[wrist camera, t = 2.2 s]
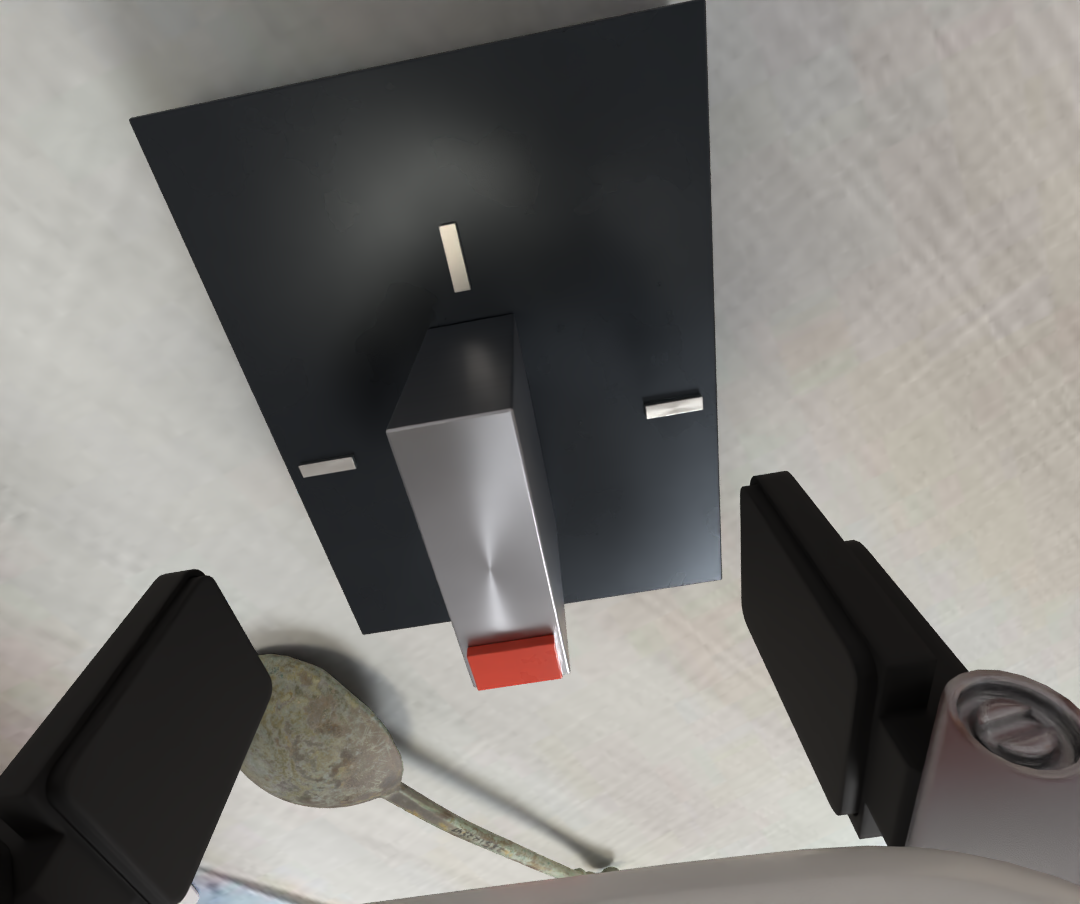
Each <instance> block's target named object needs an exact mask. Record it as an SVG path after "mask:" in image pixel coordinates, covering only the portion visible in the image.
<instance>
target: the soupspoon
mask: <svg viewBox="0 0 1080 904" xmlns="http://www.w3.org/2000/svg"><path fill="white" fill-rule="evenodd" d="M258 656H259V658H260V659H261V661H262V663H263V665H264V666H265V668H266V670H267V672H268V673H269V675H270V677H271V680H272V695H271V698H270V701H269V703H268V706H267V708H266V710H265V713H264V715H263V717H262V720H261V722H260V724H259V727H258V729H257V731H256V734H255V736H254V738H253V741H252V743H251V745H250V748H249V750H248V752H247V755H246V757H245V759H244V762H243V764H242V766H241V769H240V770H241V771H242V772H243V773H244V774H245V775H246V776H247V777H248V778H249V779H250V780H251V781H253V782H254V783H255V784H256V785H257V786H259V787H260V788H262V789H263V790H265V791H266V792H268V793H270V794H271V795H273V796H275V797H277V798H280V799H282V800H284V801H287V802H290V803H294V804H298V805H302V806H308V807H316V808H337V807H347V806H352V805H356V804H360V803H364V802H367V801H370V800H373V799H376V798H383V799H386V800H387V801H389V802H391V803H393V804H394V805H396V806H398V807H400V808H402V809H404V810H405V811H407V812H409V813H411V814H413V815H415V816H417V817H418V818H420V819H422V820H424V821H426V822H428V823H430V824H432V825H434V826H436V827H438V828H439V829H442V830H444V831H446V832H448V833H450V834H452V835H454V836H457V837H459V838H461V839H463V840H466V841H468V842H470V843H473V844H475V845H478V846H480V847H482V848H485V849H487V850H490V851H492V852H494V853H496V854H499V855H502V856H504V857H506V858H509V859H511V860H514V861H516V862H519V863H521V864H523V865H526V866H528V867H530V868H533V869H535V870H538V871H540V872H543V873H545V874H547V875H550V876H553V877H555V878H563V877H571V876H579V875H587V874H595V873H593V872H589V871H588V872H585V871H584V870H583V869H581V868H578V869H575V870H572V869H570V868H568V867H566V866H564V865H561V864H559V863H557V862H555V861H553V860H550V859H548V858H546V857H544V856H541V855H539V854H537V853H536V852H533V851H531V850H529V849H527V848H525V847H522V846H520V845H518V844H516V843H514V842H512V841H510V840H507V839H505V838H503V837H501V836H498V835H496V834H494V833H492V832H490V831H488V830H485V829H483V828H481V827H479V826H477V825H475V824H473V823H471V822H469V821H467V820H465V819H463V818H461V817H459V816H458V815H456V814H454V813H452V812H450V811H449V810H447V809H445V808H443V807H442V806H440V805H438V804H437V803H435V802H433V801H431V800H430V799H428V798H427V797H425V796H423V795H422V794H420V793H418V792H417V791H415V790H414V789H412V788H410V787H408V786H407V785H405V784H404V783H402V782H401V780H402V774H403V761H402V759H401V755H400V753H399V751H398V749H397V747H396V746H395V744H394V742H393V739H392V737H391V735H390V734H389V732H388V730H387V729H386V728H385V726H384V725H383V723H382V722H381V721H380V720H379V719H378V718H377V717H376V716H375V714H374V713H373V711H371V710H370V709H369V708H368V707H367V706H366V704H364V703H363V702H361V701H359V699H358V698H357V697H356V696H354V695H353V694H352V693H351V692H350V691H348V690H347V689H346V688H345V687H344V686H342V685H341V684H340V683H339V682H338V681H337V680H336V679H334V678H333V677H332V676H331V675H330V674H329V673H327V672H326V671H325V670H323V669H322V668H320V667H316V666H315V665H313V664H309V663H307V662H304V661H300V660H299V659H295V658H292V657H290V656H286V655H285V656H282V655H277V654H265V655H258ZM611 871H618V869H617V868H615V867H608V868H605V869H604V870H603V871H602V872H601V873H603V872H611Z"/></svg>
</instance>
